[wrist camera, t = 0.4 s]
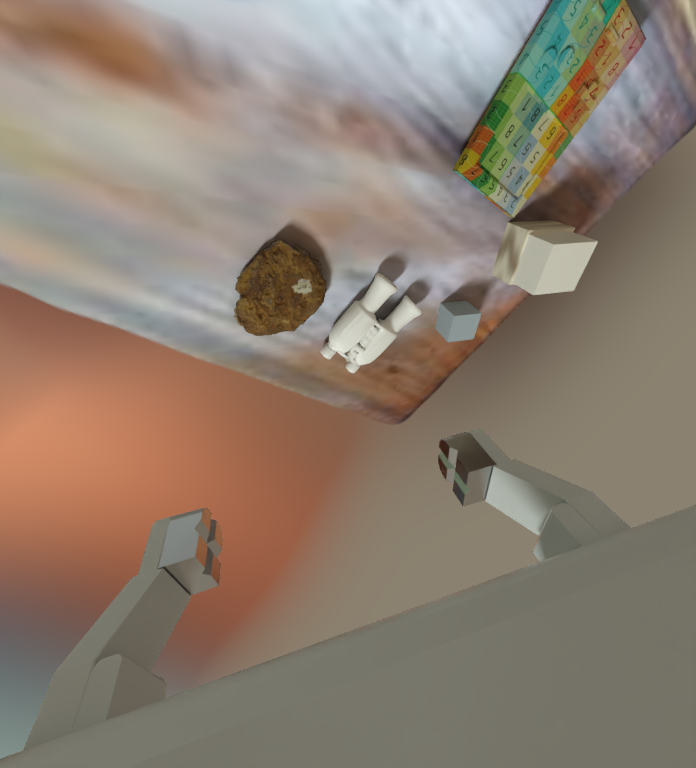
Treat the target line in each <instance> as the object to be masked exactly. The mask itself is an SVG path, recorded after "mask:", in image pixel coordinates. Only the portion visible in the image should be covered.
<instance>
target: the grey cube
mask: <svg viewBox="0 0 696 768" xmlns="http://www.w3.org/2000/svg"><path fill="white" fill-rule="evenodd" d="M481 314H482V313H481V312H480V311H478V310H477V309H476V308H475V307H474V306H472V305H471V304H470V303H469V302H468V301H456V302H446V303H441V304H440V308H439V313H438V317H437V322H436V326H435V329H436V330H437V331H438V332H439V333H440V334H441V336H442V337H443V338H444V339H445V340H446V341H447V342H454V341H462V340H470V339H474V336H475V333H476V329H477V326H478V323H479V320H480V317H481Z"/></svg>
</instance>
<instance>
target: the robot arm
mask: <svg viewBox="0 0 696 768" xmlns="http://www.w3.org/2000/svg"><path fill="white" fill-rule="evenodd" d="M439 448H440V449H441V453H440V454H439V455H438V463H439V467H440V470H441V472H442V475H443V476H444V478H445V479H446V481H448V482H450V483H452V484H453V492H454V493H455V495H456V496H457V498H458V500H459V501H460V503H461V504H462V506H466V505H469V504H473V503H476V502H480V501H483V500H486V502H487V503H489V504H491V505H492V506H494V507H495V508H497V509H498V510H500V511H502V512H503V513H504V514H506V515H508V516H509V517H511V518H512V519H514V520H515V521H517V522H518V523H520V524H521V525H523V526H525V527H526V528H528V529H529V530H531V531H532V532H534V533H535V534H537V535H538V538H537V541H536V543H535V545H534V547H533V553H534V554H535V555H536V557H537V558H538V559H539V561H540V562H538V563H535V564H532V565H530V566H527V567H524V568H521V569H519V570H516V571H513V572H510V573H508V574H505V575H502V576H499V577H496V578H494V579H491V580H488V581H486V582H483V583H480V584H478V585H475V586H472V587H469V588H467V589H464V590H461V591H458V592H456V593H453V594H450V595H447V596H444V597H442V598H439V599H436V600H434V601H431V602H428V603H425V604H423V605H420V606H417V607H414V608H412V609H409V610H406V611H403V612H401V613H398V614H396V615H393V616H390V617H387V618H384V619H382V620H379V621H376V622H374V623H371V624H368V625H365V626H362V627H360V628H357V629H354V630H351V631H349V632H346V633H343V634H341V635H338V636H335V637H332V638H330V639H327V640H324V641H321V642H319V643H316V644H313V645H310V646H308V647H305V648H302V649H300V650H297V651H294V652H291V653H289V654H286V655H283V656H280V657H278V658H275V659H272V660H269V661H267V662H264V663H261V664H259V665H256V666H253V667H250V668H248V669H245V670H242V671H239V672H237V673H234V674H231V675H228V676H226V677H223V678H220V679H218V680H215V681H212V682H209V683H207V684H204V685H201V686H198V687H196V688H193V689H190V690H188V691H185V692H182V693H179V694H177V695H174V696H171V697H168V698H165V694H166V687H167V683H166V681H165V680H164V679H163V678H161V677H159V676H157V675H156V674H153V673H152V672H151V670H152V668H153V666H154V664H155V662H156V661H157V659H158V657H159V655H160V653H161V651H162V650H163V648H164V646H165V644H166V642H167V640H168V639H169V637H170V635H171V633H172V631H173V629H174V627H175V626H176V624H177V622H178V620H179V618H180V616H181V615H182V613H183V611H184V609H185V608H186V606H187V604H188V602H189V600H190V598H191V596H190V595H193V594H196V593H199V592H202V591H204V590H207V589H210V588H213V587H216V586H219V579H220V567H221V563H220V562H219V560H218V559H217V556H218V555H219V553H220V552H221V550H222V533H221V529H220V526H219V524H218V522H217V521H215V520H213V519H211V514H212V513H211V512H210V510H209V509H208V508H202V509H199V510H195V511H191V512H187V513H184V514H179V515H176V516H172V517H168V518H165V519H162V520H158V521H156V522H155V523H154V524H153V526H152V528H151V532H150V535H149V539H148V542H147V545H146V549H145V552H144V556H143V560H142V563H141V566H140V570H139V573H138V576H135V577H133V578H131V580H130V581H129V582H128V583H127V585H126V586H125V587H124V588H123V590H122V591H121V592H120V593H119V594H118V596H117V597H116V598H115V599H114V601H113V602H112V603H111V604H110V606H109V607H108V608H107V609H106V610H105V612H104V613H103V614H102V615H101V617H100V618H99V619H98V620H97V622H96V623H95V624H94V625H93V626H92V628H91V629H90V630H89V631H88V632H87V634H86V635H85V636H84V637H83V639H82V640H81V641H80V642H79V643H78V645H77V646H76V647H75V648H74V650H73V651H72V652H71V653H70V655H69V656H68V657H67V658H66V660H65V661H64V662H63V663H62V664H61V666H60V667H59V668H58V670H57V671H56V672H55V673H54V675H53V678H52V680H51V682H50V685H49V687H48V690H47V692H46V695H45V697H44V700H43V702H42V705H41V708H40V710H39V713H38V715H37V717H36V720H35V722H34V725H33V727H32V730H31V732H30V735H29V737H28V740H27V742H26V745H25V747H24V750H23V751H21V752H18V753H15V754H12V755H10V756H7V757H4V758H2V759H0V768H696V505H694V506H691V507H688V508H685V509H683V510H680V511H677V512H675V513H672V514H669V515H666V516H663V517H661V518H658V519H655V520H653V521H650V522H647V523H644V524H642V525H639V526H636V527H633V528H631V527H630V526H629V525H628V524H626V523H625V522H624V521H623V520H622V519H621V518H620V517H619V516H618V515H617V514H616V513H615V512H613V511H612V510H611V509H610V508H609V507H608V506H607V505H606V504H605V503H603V501H601V500H600V499H599V498H598V497H597V496H596V495H595V494H594V493H593V492H591V491H589V490H587V489H584V488H582V487H579V486H577V485H575V484H572V483H570V482H568V481H565V480H563V479H561V478H558V477H556V476H554V475H551V474H549V473H547V472H544V471H542V470H540V469H537V468H535V467H532V466H530V465H528V464H525V463H523V462H521V461H518V460H516V459H514V460H511V459H510V458H509V457H508V456H507V455H506V454H505V453H504V452H503V451H502V450H501V449H500V448H499V446H498V445H497V444H496V443H495V442H494V441H493V440H492V439H491V438H490V437H489V436H488V435H487V434H486V433H485V431H483V430H482V429H480V428H479V429H475V430H472V431H468V432H464V433H460V434H457V435H454V436H451V437H447V438H444V439H441V441H440V442H439Z"/></svg>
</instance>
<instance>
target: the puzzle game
mask: <svg viewBox="0 0 696 768" xmlns="http://www.w3.org/2000/svg"><path fill="white" fill-rule="evenodd" d="M645 39H646V38H645V36H644V34H643V32H642V30H641V28H640V26H639V24H638V22H637V20H636V18H635V16H634V14H633V12H632V10H631V9H630V7H629V5H628V3H627V1H626V0H552V2H551V3H550V5H549V7H548V8H547V10H546V12H545V13H544V15H543V17H542V18H541V20H540V22H539V23H538V25H537V27H536V29H535V30H534V32H533V34H532V35H531V37H530V39H529V40H528V42H527V44H526V45H525V47H524V49H523V50H522V52H521V54H520V55H519V57H518V59H517V60H516V62H515V64H514V65H513V67H512V69H511V71H510V72H509V74H508V76H507V77H506V79H505V81H504V82H503V84H502V86H501V87H500V89H499V91H498V92H497V94H496V96H495V97H494V99H493V101H492V102H491V104H490V106H489V107H488V109H487V111H486V113H485V114H484V116H483V118H482V119H481V121H480V123H479V124H478V126H477V128H476V129H475V131H474V133H473V134H472V136H471V138H470V140H469V142H468V144H467V146H466V148H465V149H464V151H463V153H462V154H461V156H460V158H459V160H458V161H457V163H456V164H455V167H454V169H453V171H455V172H456V173H457V174H458V175H459V176H461V177H462V178H463V179H464V180H465V181H467V182H468V183H469V184H470V185H471V186H473V187H474V188H475V189H476V190H478V191H479V192H480V193H481V194H482V195H484V196H485V197H486V198H487V199H488V200H490V201H491V202H492V203H493V204H494V205H496V206H497V207H498V208H499V209H501V210H502V211H503V212H504V213H505V214H507V215H508V216H509V217H512V218H514V217H515V216H516V214H517V213H518V211H519V210H520V209H521V207H522V206H523V205H524V203H525V202H526V201H527V199H528V198H529V197H530V195H531V194H532V193H533V191H534V190H535V189H536V187H537V186H538V185H539V183H540V182H541V181H542V179H543V178H544V177H545V175H546V174H547V173H548V171H549V170H550V169H551V167H552V166H553V165H554V163H555V162H556V160H557V159H558V158H559V156H560V155H561V154H562V152H563V151H564V150H565V148H566V147H567V146H568V144H569V143H570V142H571V140H572V139H573V138H574V136H575V135H576V134H577V132H578V131H579V130H580V128H581V127H582V126H583V124H584V123H585V122H586V120H587V119H588V118H589V116H590V115H591V114H592V112H593V111H594V110H595V108H596V107H597V106H598V104H599V103H600V102H601V100H602V99H603V98H604V96H605V95H606V94H607V92H608V91H609V90H610V88H611V87H612V86H613V84H614V83H615V82H616V80H617V79H618V78H619V76H620V75H621V73H622V72H623V71H624V69H625V68H626V67H627V65H628V64H629V63H630V61H631V60H632V59H633V57H634V56H635V55H636V53H637V52H638V51H639V49H640V48H641V47H642V45H643V43H644V41H645Z"/></svg>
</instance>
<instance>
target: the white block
mask: <svg viewBox="0 0 696 768" xmlns="http://www.w3.org/2000/svg"><path fill="white" fill-rule="evenodd" d="M597 243H598V241H596V240H593V239H590V238H587V237H584V236H581V235H579V234H576V233H573V232H556V233H542V234H529V236H528V238H527V241H526V244H525V247H524V250H523V252H522V255H521V258H520V261H519V264H518V267H517V269H516V272H515V275H514V278H513V281H512V282H513V283H515V284H516V285H518V286H519V287H521V288H523V289H524V290H526V291H527V292H529V293H531V294H532V295H539V294H548V293H557V292H566V291H574V289H575V287H576V285H577V283H578V281H579V279H580V277H581V275H582V273H583V271H584V269H585V267H586V265H587V263H588V261H589V259H590V256H591V255H592V253H593V251H594V249H595V247H596V245H597Z"/></svg>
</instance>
